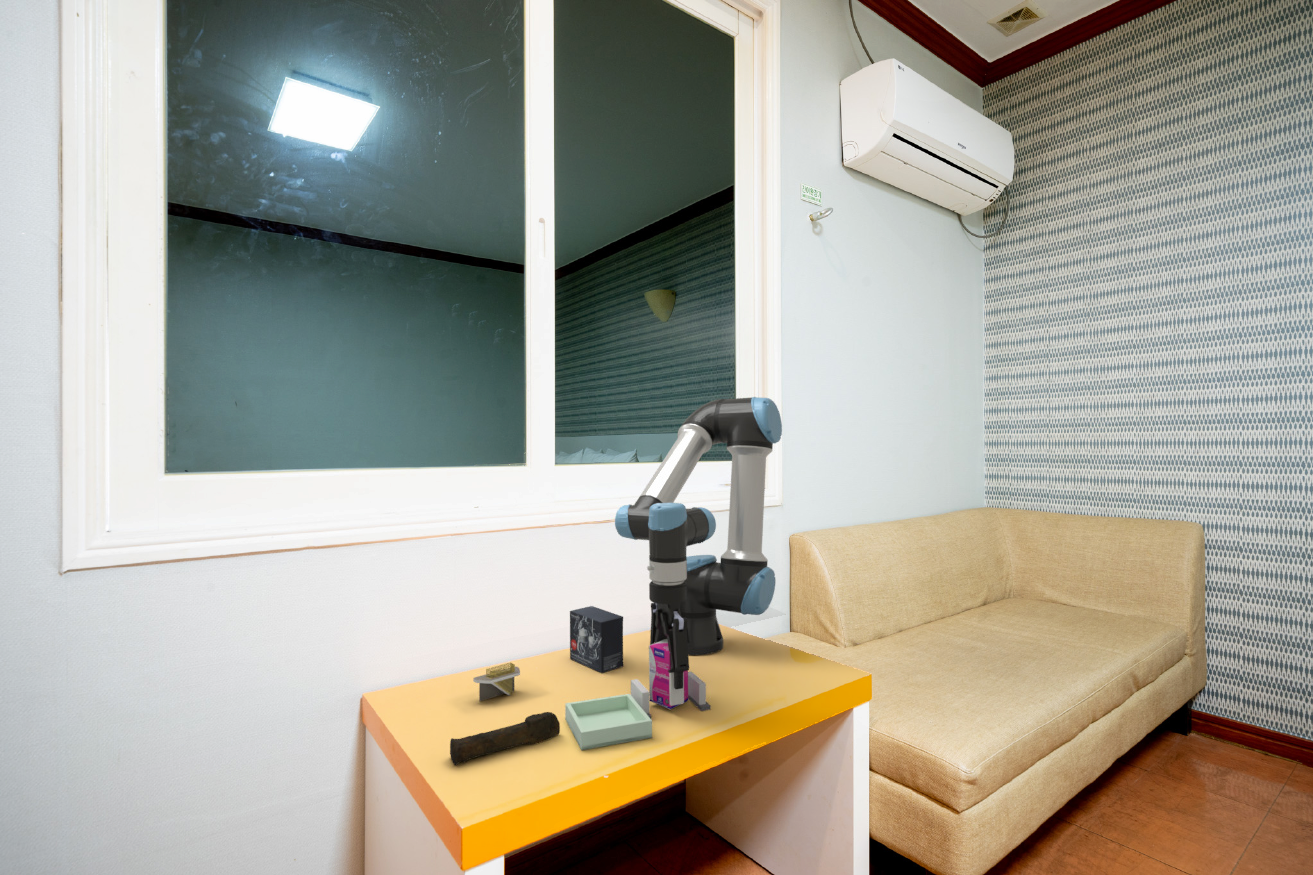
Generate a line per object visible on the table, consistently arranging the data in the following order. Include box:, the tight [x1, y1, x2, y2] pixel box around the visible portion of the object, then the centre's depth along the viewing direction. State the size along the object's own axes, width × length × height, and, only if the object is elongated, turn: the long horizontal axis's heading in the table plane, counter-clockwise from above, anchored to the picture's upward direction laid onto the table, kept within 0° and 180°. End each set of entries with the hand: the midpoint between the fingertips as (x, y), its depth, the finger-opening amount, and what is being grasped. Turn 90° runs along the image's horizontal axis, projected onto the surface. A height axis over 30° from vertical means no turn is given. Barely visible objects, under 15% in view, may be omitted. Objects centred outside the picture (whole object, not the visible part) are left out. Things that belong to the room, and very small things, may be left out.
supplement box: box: [648, 639, 689, 710], centre depth 122 cm, size 6×6×12 cm
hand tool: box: [449, 711, 561, 766], centre depth 104 cm, size 19×4×5 cm, turn 120°
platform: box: [473, 662, 521, 702], centre depth 126 cm, size 12×18×7 cm, turn 133°
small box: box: [569, 605, 625, 674], centre depth 146 cm, size 13×7×12 cm, turn 42°
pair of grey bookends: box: [630, 671, 712, 720], centre depth 122 cm, size 14×9×5 cm, turn 111°
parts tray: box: [564, 693, 653, 751], centre depth 112 cm, size 13×13×3 cm
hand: (668, 695), depth 122 cm, fingers closed on supplement box, 7 cm apart
